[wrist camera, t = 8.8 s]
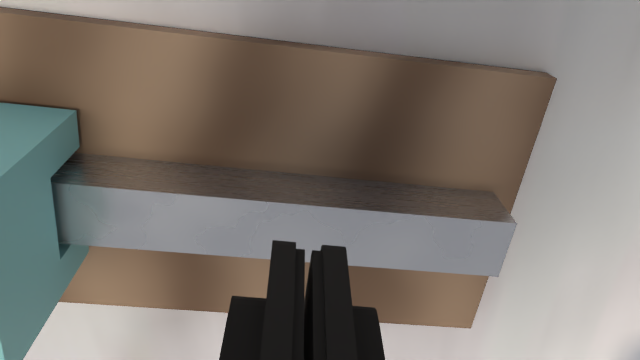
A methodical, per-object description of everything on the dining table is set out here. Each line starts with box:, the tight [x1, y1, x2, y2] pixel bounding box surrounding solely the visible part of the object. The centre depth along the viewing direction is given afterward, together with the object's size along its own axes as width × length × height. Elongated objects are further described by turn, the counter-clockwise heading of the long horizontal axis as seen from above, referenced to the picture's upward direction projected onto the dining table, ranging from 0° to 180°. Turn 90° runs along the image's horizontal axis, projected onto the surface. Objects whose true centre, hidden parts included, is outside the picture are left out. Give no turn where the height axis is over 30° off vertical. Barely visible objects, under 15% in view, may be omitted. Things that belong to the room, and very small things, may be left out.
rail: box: [50, 153, 517, 277], centre depth 19 cm, size 21×2×2 cm, turn 83°
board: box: [0, 7, 557, 328], centre depth 20 cm, size 24×12×1 cm, turn 83°
